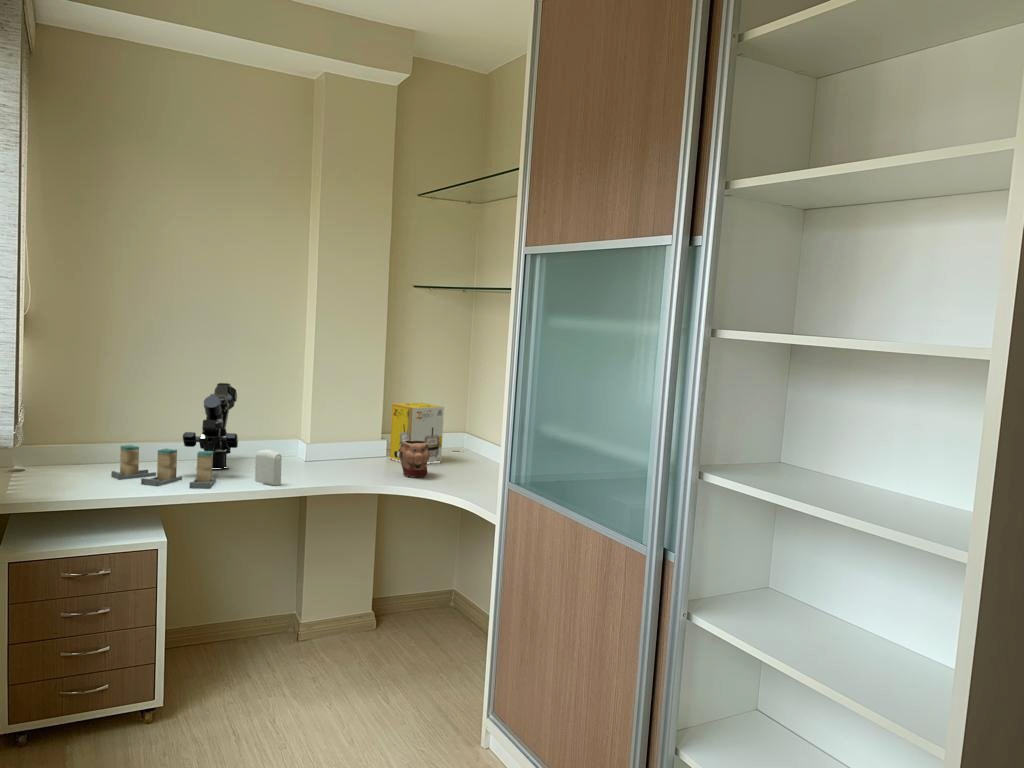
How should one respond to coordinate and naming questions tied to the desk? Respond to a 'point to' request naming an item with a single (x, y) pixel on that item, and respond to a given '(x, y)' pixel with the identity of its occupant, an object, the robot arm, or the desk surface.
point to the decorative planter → (414, 458)
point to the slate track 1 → (140, 474)
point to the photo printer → (268, 467)
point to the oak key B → (166, 464)
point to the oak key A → (129, 460)
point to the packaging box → (417, 427)
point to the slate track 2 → (158, 481)
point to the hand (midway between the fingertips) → (207, 458)
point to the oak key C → (204, 466)
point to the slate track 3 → (202, 484)
